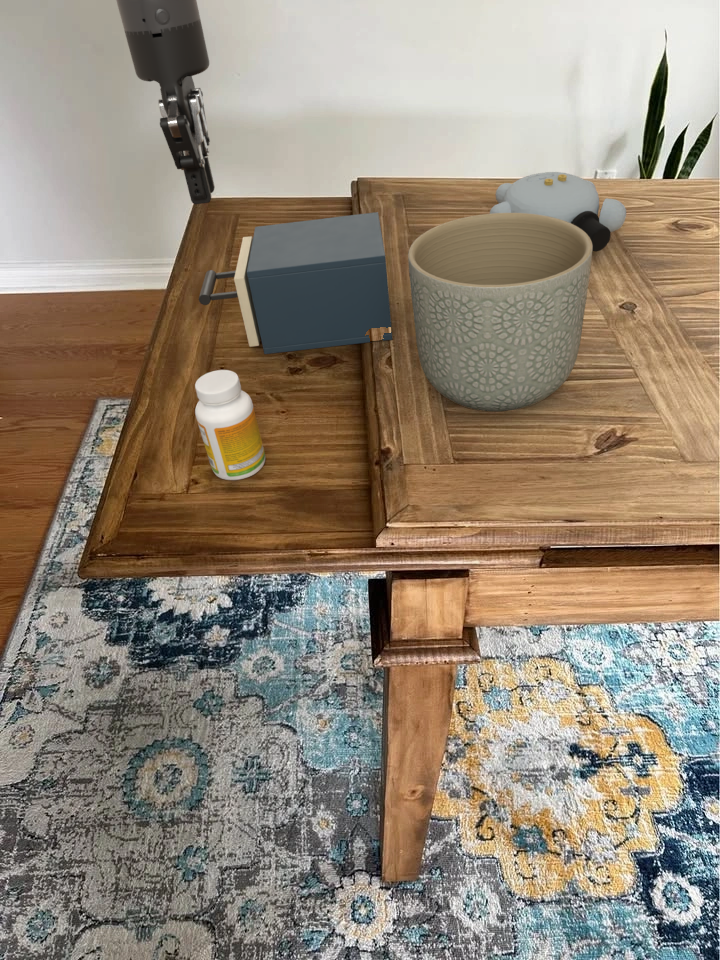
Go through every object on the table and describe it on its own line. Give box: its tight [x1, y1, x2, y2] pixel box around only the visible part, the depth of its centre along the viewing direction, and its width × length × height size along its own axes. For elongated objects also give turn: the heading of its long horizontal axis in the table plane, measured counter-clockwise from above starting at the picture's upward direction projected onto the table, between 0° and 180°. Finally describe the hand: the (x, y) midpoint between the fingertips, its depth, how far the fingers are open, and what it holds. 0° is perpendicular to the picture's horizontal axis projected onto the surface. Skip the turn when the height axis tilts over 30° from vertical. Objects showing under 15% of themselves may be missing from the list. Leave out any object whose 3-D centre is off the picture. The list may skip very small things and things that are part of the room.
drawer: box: [198, 235, 261, 348], centre depth 90 cm, size 20×12×9 cm, turn 92°
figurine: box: [489, 171, 627, 252], centre depth 103 cm, size 17×8×20 cm
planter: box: [407, 213, 593, 413], centre depth 73 cm, size 17×17×15 cm
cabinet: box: [247, 211, 393, 355], centre depth 90 cm, size 16×14×11 cm
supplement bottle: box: [194, 369, 266, 481], centre depth 69 cm, size 5×5×10 cm
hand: (203, 196), depth 83 cm, fingers closed
